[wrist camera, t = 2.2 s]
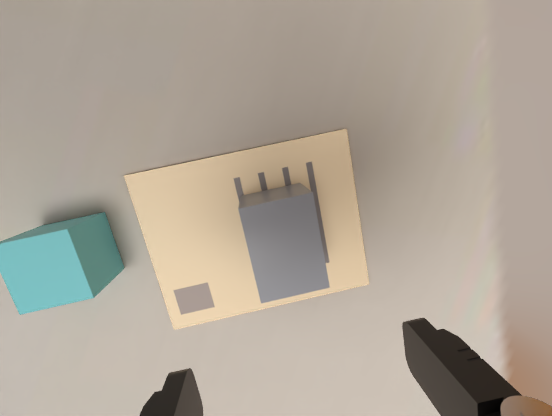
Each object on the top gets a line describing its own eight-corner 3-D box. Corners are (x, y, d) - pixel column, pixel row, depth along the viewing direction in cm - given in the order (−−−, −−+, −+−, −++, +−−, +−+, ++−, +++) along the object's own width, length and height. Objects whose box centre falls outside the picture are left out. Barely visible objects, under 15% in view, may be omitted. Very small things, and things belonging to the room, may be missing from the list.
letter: (125, 175, 23) (123, 175, 23) (345, 128, 24) (346, 128, 23) (174, 327, 26) (173, 330, 26) (367, 282, 27) (369, 284, 26)
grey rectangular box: (240, 195, 24) (238, 208, 19) (300, 182, 24) (312, 192, 19) (259, 273, 25) (261, 303, 20) (314, 260, 25) (329, 287, 21)
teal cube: (43, 225, 23) (-12, 246, 18) (105, 211, 24) (67, 229, 19) (65, 281, 24) (19, 314, 20) (124, 267, 25) (93, 297, 20)
